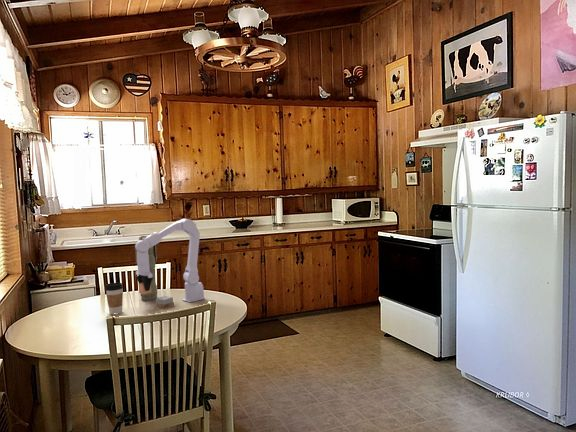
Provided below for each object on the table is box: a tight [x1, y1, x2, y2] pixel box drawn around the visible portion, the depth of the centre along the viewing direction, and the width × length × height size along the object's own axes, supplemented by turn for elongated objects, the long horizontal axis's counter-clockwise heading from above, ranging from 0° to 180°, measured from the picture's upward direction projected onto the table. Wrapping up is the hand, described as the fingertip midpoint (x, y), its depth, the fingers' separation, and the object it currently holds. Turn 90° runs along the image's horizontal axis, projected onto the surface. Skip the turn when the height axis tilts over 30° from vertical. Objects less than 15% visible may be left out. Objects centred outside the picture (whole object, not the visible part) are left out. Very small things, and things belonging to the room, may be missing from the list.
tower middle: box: [155, 295, 174, 305], centre depth 238 cm, size 6×6×2 cm
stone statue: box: [134, 235, 158, 302], centre depth 254 cm, size 9×12×35 cm
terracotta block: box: [138, 283, 151, 295], centre depth 237 cm, size 4×4×5 cm
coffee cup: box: [104, 282, 124, 315], centre depth 230 cm, size 8×8×15 cm
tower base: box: [154, 301, 175, 310], centre depth 239 cm, size 7×7×2 cm
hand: (145, 289), depth 237 cm, fingers closed on terracotta block, 4 cm apart
